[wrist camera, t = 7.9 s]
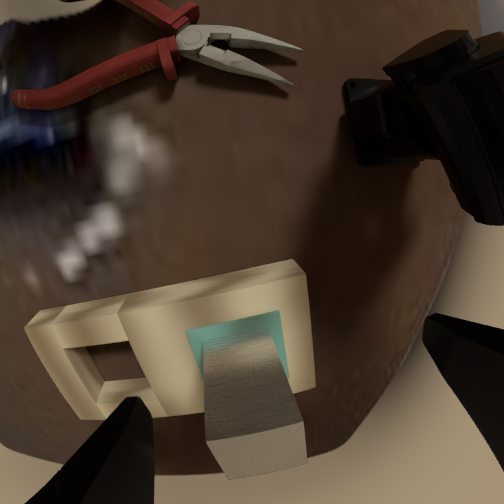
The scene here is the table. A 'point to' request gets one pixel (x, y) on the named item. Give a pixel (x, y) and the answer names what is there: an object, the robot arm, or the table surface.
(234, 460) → the steel block
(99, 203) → the table surface
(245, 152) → the table surface
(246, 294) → the beige slotted block
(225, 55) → the pliers
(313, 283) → the table surface
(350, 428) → the table surface
